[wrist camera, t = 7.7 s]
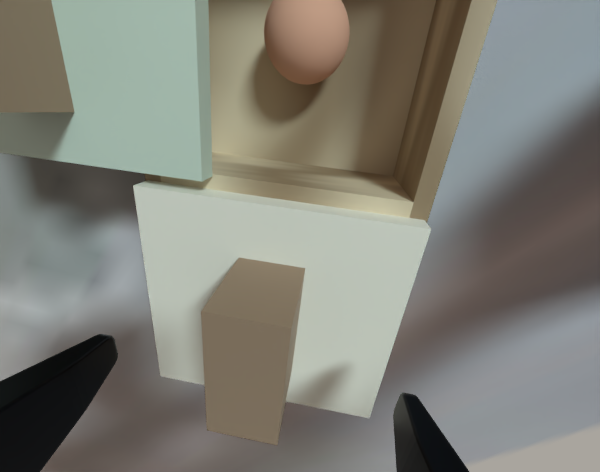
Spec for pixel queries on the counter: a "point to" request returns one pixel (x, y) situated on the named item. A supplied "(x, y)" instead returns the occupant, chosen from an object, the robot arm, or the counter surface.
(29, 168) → the counter surface
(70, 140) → the cover
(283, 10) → the ball
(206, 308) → the lid
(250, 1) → the box
